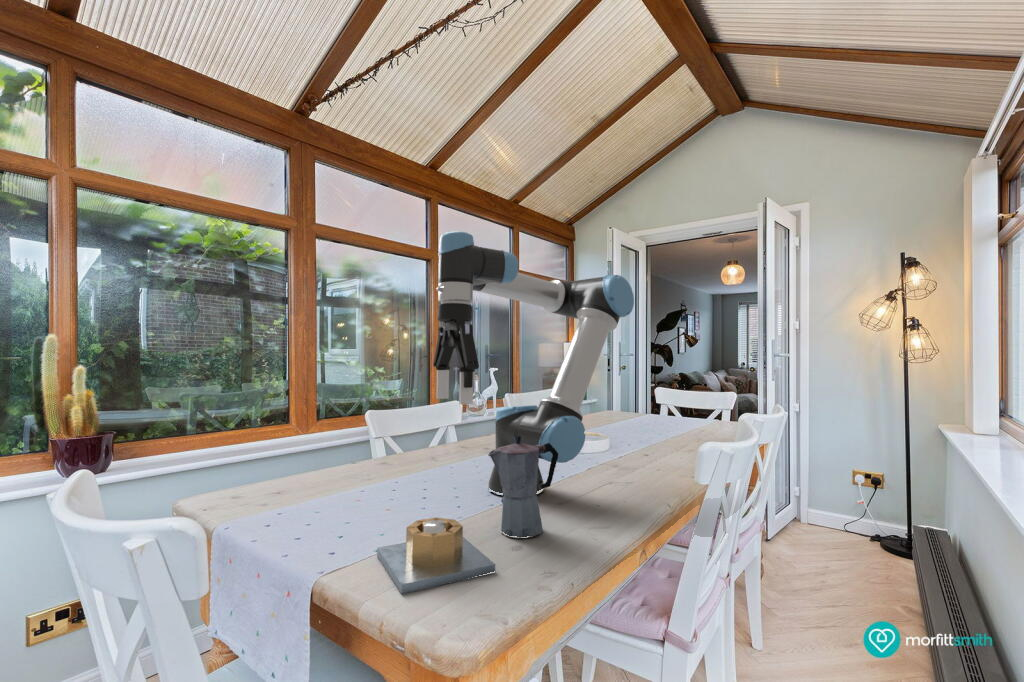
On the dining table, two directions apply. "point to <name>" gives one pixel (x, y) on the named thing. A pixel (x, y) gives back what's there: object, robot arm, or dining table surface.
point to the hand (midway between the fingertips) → (453, 401)
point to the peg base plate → (428, 577)
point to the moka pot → (521, 485)
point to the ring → (434, 543)
